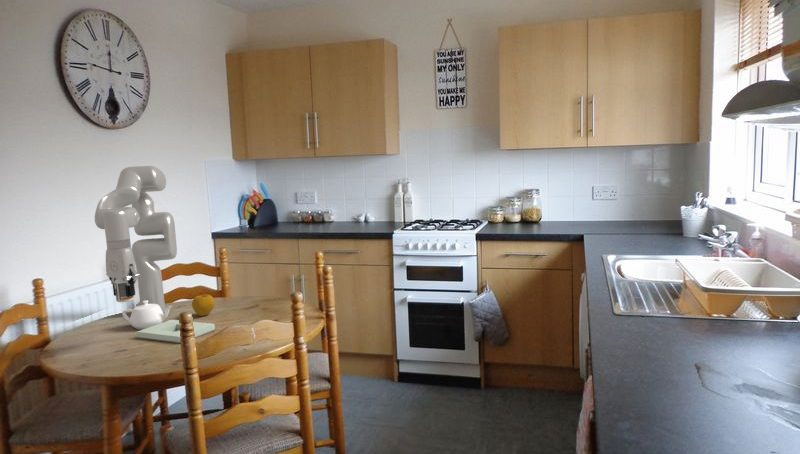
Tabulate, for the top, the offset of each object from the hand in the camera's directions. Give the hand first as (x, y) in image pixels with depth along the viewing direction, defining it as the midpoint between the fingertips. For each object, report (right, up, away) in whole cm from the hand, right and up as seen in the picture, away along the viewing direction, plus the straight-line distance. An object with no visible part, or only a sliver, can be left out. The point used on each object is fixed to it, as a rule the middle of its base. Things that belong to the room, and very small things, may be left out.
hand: (124, 294), depth 203 cm
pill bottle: (0, -2, 0) cm, 2 cm away
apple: (+17, -13, +33) cm, 39 cm away
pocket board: (+15, -15, +9) cm, 23 cm away
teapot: (-1, -15, +22) cm, 27 cm away
